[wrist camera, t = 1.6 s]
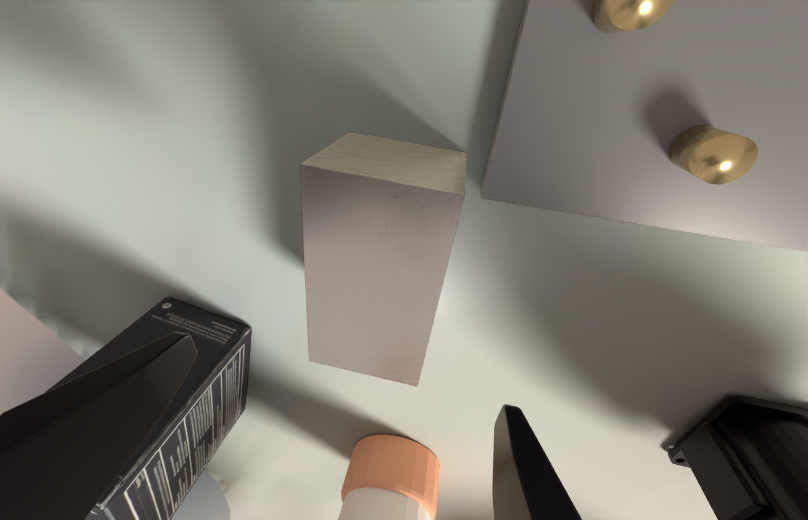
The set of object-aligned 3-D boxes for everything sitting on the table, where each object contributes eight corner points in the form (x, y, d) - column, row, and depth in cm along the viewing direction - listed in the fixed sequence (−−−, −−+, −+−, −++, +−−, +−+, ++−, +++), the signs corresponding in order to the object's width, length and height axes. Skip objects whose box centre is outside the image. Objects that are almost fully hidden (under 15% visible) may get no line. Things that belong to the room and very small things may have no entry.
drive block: (467, 152, 14) (464, 195, 9) (429, 311, 19) (417, 386, 14) (351, 131, 14) (299, 164, 10) (344, 293, 19) (308, 360, 15)
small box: (160, 290, 21) (-55, 453, 13) (255, 325, 22) (107, 509, 13) (173, 382, 27) (31, 537, 19) (247, 409, 27) (142, 575, 19)
